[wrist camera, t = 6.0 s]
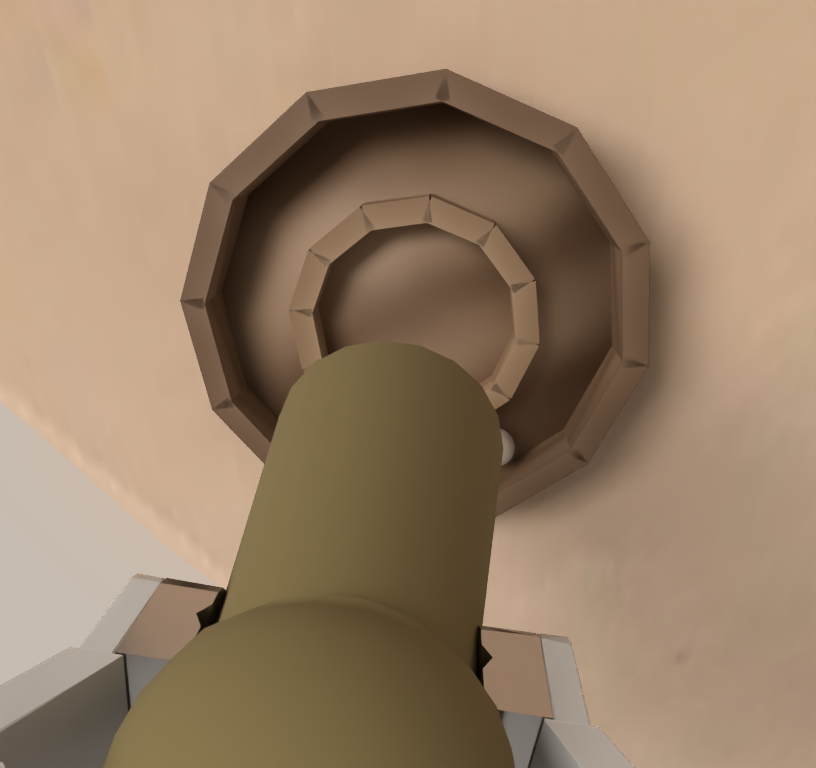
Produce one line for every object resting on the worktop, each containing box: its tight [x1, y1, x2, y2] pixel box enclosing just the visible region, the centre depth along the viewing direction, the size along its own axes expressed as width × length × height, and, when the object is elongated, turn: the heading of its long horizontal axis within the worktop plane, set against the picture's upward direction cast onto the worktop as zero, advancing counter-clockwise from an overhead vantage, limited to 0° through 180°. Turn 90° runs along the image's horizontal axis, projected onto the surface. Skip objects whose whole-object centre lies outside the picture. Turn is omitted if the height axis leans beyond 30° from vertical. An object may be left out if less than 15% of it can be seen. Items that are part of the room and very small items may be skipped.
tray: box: [180, 69, 650, 517], centre depth 26 cm, size 19×19×3 cm
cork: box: [102, 340, 515, 768], centre depth 11 cm, size 6×6×11 cm
